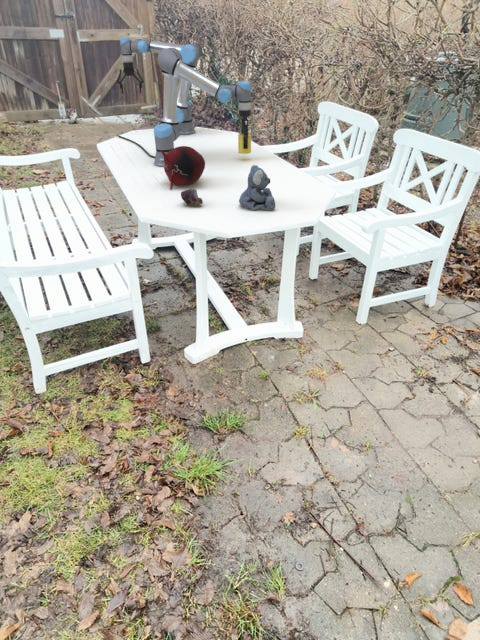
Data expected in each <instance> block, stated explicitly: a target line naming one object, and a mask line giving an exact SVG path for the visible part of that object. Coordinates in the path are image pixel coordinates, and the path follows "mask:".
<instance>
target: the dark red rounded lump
mask: <svg viewBox="0 0 480 640" xmlns="http://www.w3.org/2000/svg"><path fill="white" fill-rule="evenodd" d="M161 153H162V154H163V156H164V167H163V171H164V173H165V175H166V176H167V179H168V181H169V183H170V184H169V185H170V186H169V190H172V189H173V186H174V185H175V186H181V187H182V186H186V187H187V186H191V185H194V184H195V183H197V182H198V181H199V180H200V179H201V177H202V175H203V173H204V172H205V168H206V160H205V158H204V157H203V155H202V154H200V152H199V151H198V150H196V149H194V148H193V147H191V146H187V145H181V146H177V147H174V149H172V150H171V151H169V152H168V153H167V154H165V153H164V152H163V151H162V150H161Z"/></svg>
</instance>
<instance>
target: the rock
mask: <svg viewBox="0 0 480 640" xmlns="http://www.w3.org/2000/svg"><path fill="white" fill-rule="evenodd" d="M180 197H181V200H182V201H183V202H184V203H185V205H187V206H189V207H191V206H192V207H193V206H201V205H203V204H204V202H203V199H202V197H199V195H198V190H197V189H196V188H188V189H185V190H181V192H180Z"/></svg>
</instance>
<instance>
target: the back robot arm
mask: <svg viewBox="0 0 480 640" xmlns="http://www.w3.org/2000/svg"><path fill="white" fill-rule="evenodd" d="M119 45H120V51H121V58H122V66H123V69H120V68H119V74H118V77H117V80H116V83H117V84H118V85H119V88H120V90H121V93H122V94H125V93H124V87H123V86H124V85H123V82H124V80H125V78H126V77H132V76H133V77H134V79H135V80H136V81H137V82H138V86H139V93H140V94H142V89H143V83H144V82H145V80H144V79H143V77H142V75H141V73H140V72H139V68H135V67H134V62H133V61H134V58H133V54H134V53H136V54H146V53H155V54H159V53H160V51H162V50H163V49H167V48H176V49H177V50H179V51H180V53H181V55H182V58H183V62H182V63H184V64H186V65H187V66H189V67H191V68H193V69H194V70H195V69H196V67H197V61H199V59H200V58H201V56H202V50H201V48H200V47H199V45H197V44H196V43H183V44H180V43H172V42H165V41H157V40H149V39H141V40H140V39H139V40H131V38H130V37H120V38H119ZM122 73H124V75H123V76H122ZM136 74H137V75H138V76H137V75H136ZM121 77H122V78H121ZM190 86H191V83H189V82H187V81H186V80H184V79H182V78H180V77H179V76H178V89H177V119H178V120H179V127H180V135H192V134H194V133H195V132H196V130H195V127H196V123H194V124H193V116H192V103H191V102H189V101H188V97H189V92H190Z"/></svg>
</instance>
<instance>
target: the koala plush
mask: <svg viewBox="0 0 480 640" xmlns="http://www.w3.org/2000/svg"><path fill="white" fill-rule="evenodd" d="M270 183H271V178H269V176H268V175H267V173H266V172H265V170H264V169H263V168H261V167H259V165H257V164H253V165H250V170H249V173H248V176H247V188H246V189H245V190H244V191H243V192H242V193H241V194H240V197H239V199H238V203H239V204H240V206H241V207H242V208H246V209H247V210H252V211H255V210H261V211H272V210H274V209H275V208H276V200H275V198H274V196H273V194H272V191H271V188H270V187H268V186H269V185H270Z"/></svg>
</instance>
